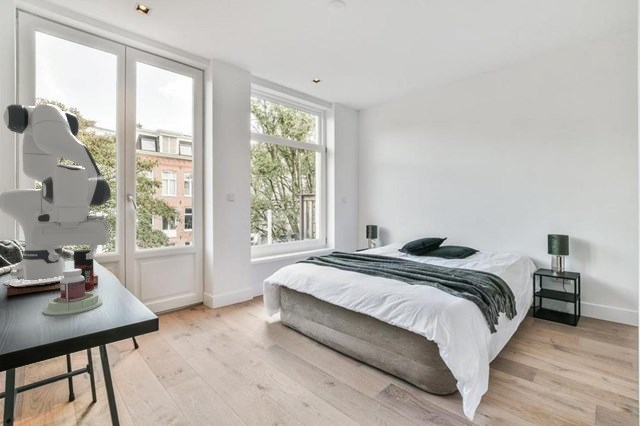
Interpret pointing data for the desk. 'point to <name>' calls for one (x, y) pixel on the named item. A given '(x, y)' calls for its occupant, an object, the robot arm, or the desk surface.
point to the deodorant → (85, 267)
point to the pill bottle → (72, 286)
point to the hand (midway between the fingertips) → (72, 259)
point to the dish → (45, 310)
